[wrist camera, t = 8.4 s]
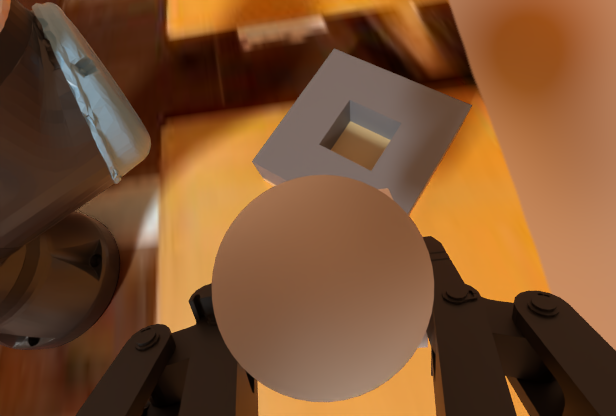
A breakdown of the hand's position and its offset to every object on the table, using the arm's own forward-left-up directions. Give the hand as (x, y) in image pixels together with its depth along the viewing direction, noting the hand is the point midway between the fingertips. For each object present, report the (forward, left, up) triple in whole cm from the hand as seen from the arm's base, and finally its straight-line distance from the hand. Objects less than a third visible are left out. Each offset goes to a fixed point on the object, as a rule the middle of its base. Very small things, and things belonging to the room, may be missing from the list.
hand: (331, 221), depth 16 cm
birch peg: (+2, -3, -5) cm, 6 cm away
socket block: (-6, +12, -20) cm, 24 cm away
